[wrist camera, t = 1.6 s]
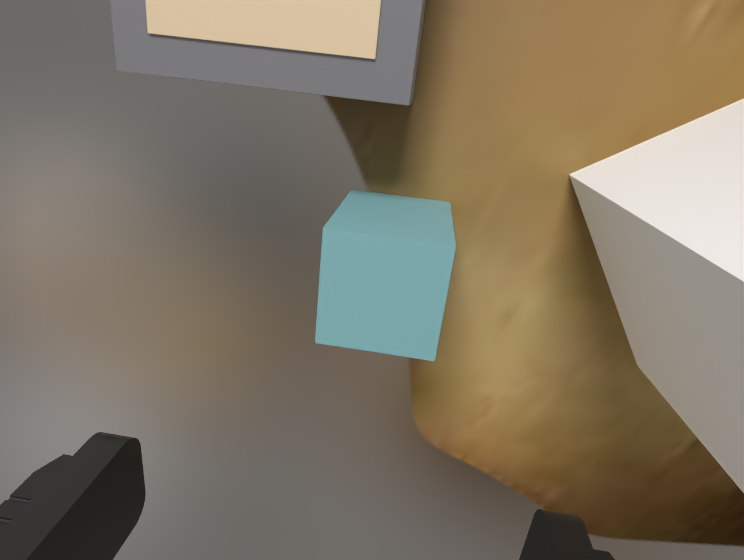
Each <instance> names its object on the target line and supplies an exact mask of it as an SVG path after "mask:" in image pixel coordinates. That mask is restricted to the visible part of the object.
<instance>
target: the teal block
mask: <svg viewBox="0 0 744 560" xmlns="http://www.w3.org/2000/svg"><path fill="white" fill-rule="evenodd" d="M321 250H322V251H321V264H320V279H319V293H318V307H317V309H318V310H317V322H316V336H315V337H316V338H315V343H320V344H326V345H333V346H339V347H345V348H352V349H358V350H365V351H371V352H378V353H384V354H391V355H397V356H403V357H410V358H416V359H422V360H429V361H435V357H436V352H437V346H438V341H439V335H440V330H441V325H442V319H443V314H444V309H445V303H446V298H447V293H448V287H449V282H450V276H451V271H452V266H453V260H454V255H455V250H456V242H455V235H454V228H453V221H452V213H451V206H450V202H444V201H436V200H429V199H421V198H414V197H406V196H399V195H391V194H384V193H376V192H369V191H362V190H354V189H352V190H351V191H350V192H349V194H348V195H347V197H346V198H345V199H344V201H343V202H342V203H341V205H340V206H339V207H338V209H337V210H336V211H335V213H334V214H333V216H332V217H331V218H330V219H329V221H328V222H327V224H326V225H325V226H324V228H323V236H322V249H321Z"/></svg>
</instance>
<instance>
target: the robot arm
mask: <svg viewBox="0 0 744 560" xmlns="http://www.w3.org/2000/svg"><path fill="white" fill-rule="evenodd" d="M144 502H145V484H144V474H143V464H142V454H141V446H140V442H139V440H138V439H136V438H132V437H126V436H120V435H115V434H109V433H103V432H99V433H96V434H95V435H93V436H92V437H91V438H90V439H89V440H88V441H87V442H86V443H85V444H84V445H83V446H82V447H81V448H80V449H79V450H78V451H77V452H76V453H75V454H74V455H73V456H70V455H62V456H60V457H58V458H57V459H55V460H53V461H52V462H50V463H48V464H47V465H45V466H43V467H42V468H40V469H38V470H37V471H35V472H33V473H32V474H31V476H29V477H28V478H27V480H25V481H24V482H23V484H21V485H20V486H19V487H18V488H17V489H16V490H15V491H14V492H13V493H12V494H11V495H10V498H9V500H5V501H4V502H3V503H2V504H1V505H0V560H113V558H114V557H115V555H116V554H117V552H118V551H119V549H120V548H121V546H122V545H123V543H124V542H125V540H126V539H127V537H128V536H129V534H130V533H131V531H132V529H133V528H134V527H135V525H136V523H137V522H138V520H139V517H140V515H141V512H142V509H143V506H144ZM519 560H615V559H614V558H613V557H612V556H611V554H610V553H609V552H606V551H600V550H594V549H593V548H592V545H591V542H590V540H589V536H588V534H587V531H586V528H585V525H584V523H583V521H582V519H581V518H580V517H579V516H576V515H571V514H565V513H559V512H553V511H547V510H542V509H538V510H537V511H536V512H535V514H534V517H533V520H532V523H531V526H530V529H529V532H528V535H527V538H526V541H525V544H524V547H523V550H522V553H521V556H520V559H519Z"/></svg>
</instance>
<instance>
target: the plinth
mask: <svg viewBox="0 0 744 560" xmlns="http://www.w3.org/2000/svg"><path fill="white" fill-rule="evenodd" d="M110 5H111V16H112V26H113V37H114V46H115V58H116V68H117V70H118V71H126V72H135V73H143V74H152V75H160V76H168V77H176V78H185V79H193V80H201V81H209V82H218V83H226V84H234V85H243V86H252V87H259V88H268V89H276V90H285V91H293V92H301V93H310V94H317V95H326V96H334V97H342V98H351V99H359V100H367V101H376V102H384V103H392V104H401V105H410V104H411V103H412V102H413V98H414V90H415V83H416V75H417V67H418V60H419V52H420V45H421V37H422V30H423V22H424V14H425V7H426V0H110Z"/></svg>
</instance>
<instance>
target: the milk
mask: <svg viewBox="0 0 744 560" xmlns="http://www.w3.org/2000/svg"><path fill="white" fill-rule="evenodd" d="M569 176H570V179H571V182H572V184H573V187H574V190H575V193H576V196H577V198H578V201H579V204H580V207H581V210H582V212H583V215H584V218H585V221H586V224H587V226H588V229H589V232H590V235H591V238H592V240H593V243H594V246H595V249H596V252H597V254H598V257H599V260H600V263H601V266H602V268H603V271H604V274H605V277H606V280H607V282H608V285H609V288H610V291H611V294H612V296H613V299H614V302H615V305H616V308H617V310H618V313H619V316H620V319H621V322H622V324H623V327H624V330H625V333H626V336H627V338H628V341H629V344H630V347H631V350H632V352H633V355H634V358H635V361H636V364H637V366H638V367H639V368H640V370H641V371H642V372H643V373H644V374H645V376H646V377H647V378H648V379H649V380H650V382H651V383H652V384H653V385H654V386H655V388H656V389H657V390H658V391H659V392H660V394H661V395H662V396H663V397H664V398H665V400H666V401H667V402H668V403H669V404H670V405H671V407H672V408H673V409H674V410H675V411H676V413H677V414H678V415H679V416H680V417H681V419H682V420H683V421H684V422H685V423H686V425H687V426H688V427H689V428H690V429H691V431H692V432H693V433H694V434H695V435H696V437H697V438H698V439H699V440H700V441H701V443H702V444H703V445H704V446H705V447H706V449H707V450H708V451H709V452H710V453H711V455H712V456H713V457H714V458H715V459H716V461H717V462H718V463H719V464H720V465H721V467H722V468H723V469H724V470H725V471H726V473H727V474H728V475H729V476H730V477H731V479H732V480H733V481H734V482H735V483H736V485H737V486H738V487H739V488H740V489H741V491H742V492H743V493H744V99H742V100H739V101H737V102H735V103H732V104H730V105H728V106H726V107H723V108H721V109H719V110H716V111H714V112H712V113H709V114H707V115H705V116H703V117H700V118H698V119H696V120H693V121H691V122H689V123H686V124H684V125H682V126H680V127H677V128H675V129H673V130H670V131H668V132H666V133H663V134H661V135H659V136H657V137H654V138H652V139H650V140H647V141H645V142H643V143H640V144H638V145H636V146H634V147H631V148H629V149H627V150H624V151H622V152H620V153H617V154H615V155H613V156H611V157H608V158H606V159H604V160H601V161H599V162H597V163H594V164H592V165H590V166H588V167H585V168H583V169H581V170H578V171H576V172H574V173H571V174H569Z"/></svg>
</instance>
